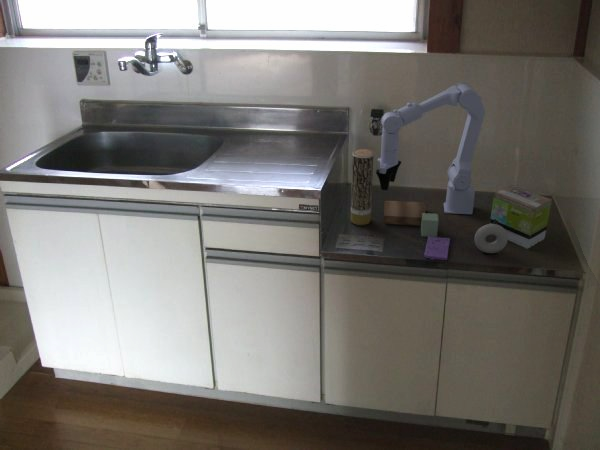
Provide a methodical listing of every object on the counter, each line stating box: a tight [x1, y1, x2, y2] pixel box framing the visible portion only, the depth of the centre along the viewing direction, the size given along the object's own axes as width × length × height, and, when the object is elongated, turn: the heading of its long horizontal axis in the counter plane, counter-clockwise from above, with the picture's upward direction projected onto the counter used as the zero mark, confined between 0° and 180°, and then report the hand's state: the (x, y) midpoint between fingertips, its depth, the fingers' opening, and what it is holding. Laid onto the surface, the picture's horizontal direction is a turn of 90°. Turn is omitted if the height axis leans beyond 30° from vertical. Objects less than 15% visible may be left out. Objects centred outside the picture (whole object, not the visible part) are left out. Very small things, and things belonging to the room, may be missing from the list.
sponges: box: [423, 236, 451, 261], centre depth 201 cm, size 7×13×2 cm, turn 164°
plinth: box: [382, 200, 426, 227], centre depth 221 cm, size 14×12×3 cm
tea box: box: [489, 184, 553, 250], centre depth 205 cm, size 15×10×15 cm, turn 40°
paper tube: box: [350, 148, 374, 226], centre depth 213 cm, size 7×7×25 cm
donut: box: [474, 223, 509, 254], centre depth 197 cm, size 10×4×10 cm, turn 82°
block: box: [420, 212, 439, 238], centre depth 210 cm, size 5×5×6 cm
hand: (387, 185), depth 222 cm, fingers open, 7 cm apart
